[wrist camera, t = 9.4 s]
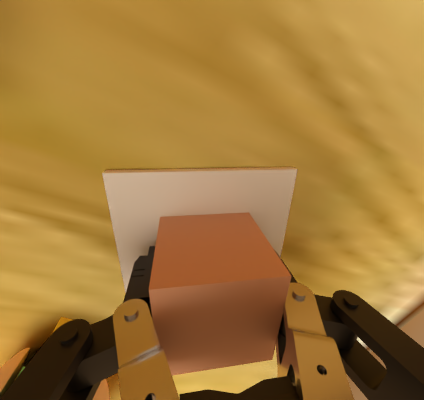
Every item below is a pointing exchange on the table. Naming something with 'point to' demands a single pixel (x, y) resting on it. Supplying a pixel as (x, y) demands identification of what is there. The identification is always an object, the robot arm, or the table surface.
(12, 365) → the hamburger
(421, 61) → the table surface
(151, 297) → the block
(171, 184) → the pad
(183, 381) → the table surface
